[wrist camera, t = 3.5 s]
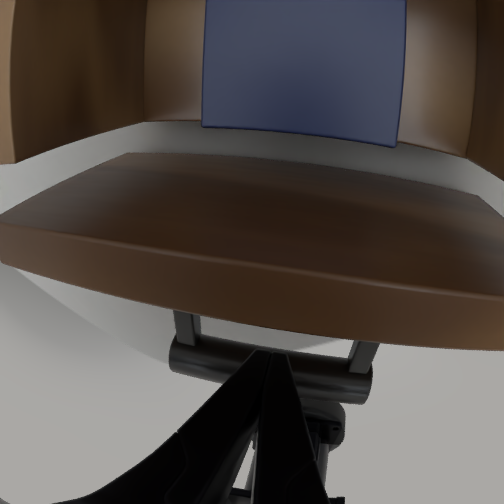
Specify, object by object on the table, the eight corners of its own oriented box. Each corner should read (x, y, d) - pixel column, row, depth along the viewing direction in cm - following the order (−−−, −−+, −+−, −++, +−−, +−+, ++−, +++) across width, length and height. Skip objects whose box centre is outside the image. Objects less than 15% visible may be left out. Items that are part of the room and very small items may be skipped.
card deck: (379, 135, 8) (397, 149, 6) (228, 119, 9) (199, 128, 7) (387, -31, 6) (403, -62, 4) (236, -41, 6) (211, -72, 4)
